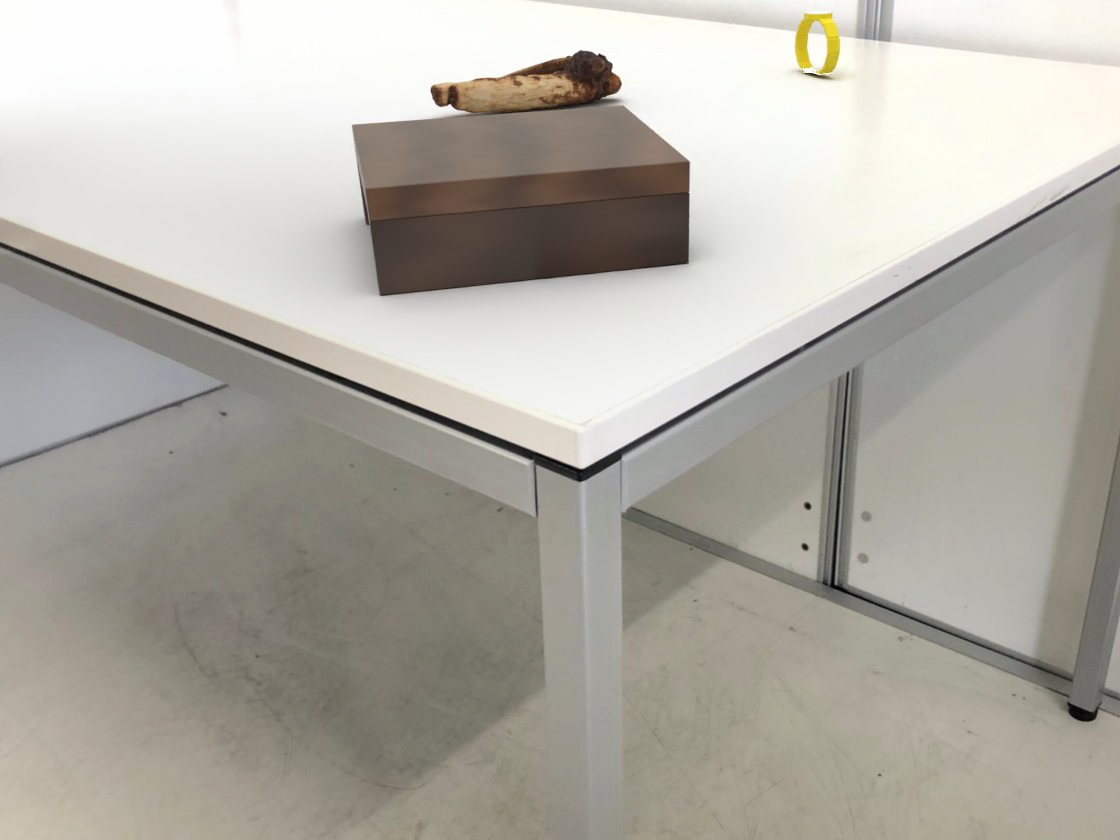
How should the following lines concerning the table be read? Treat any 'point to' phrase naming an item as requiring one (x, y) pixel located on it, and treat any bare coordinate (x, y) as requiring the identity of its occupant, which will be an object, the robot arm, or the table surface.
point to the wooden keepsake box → (519, 197)
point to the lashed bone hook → (534, 86)
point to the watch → (831, 36)
